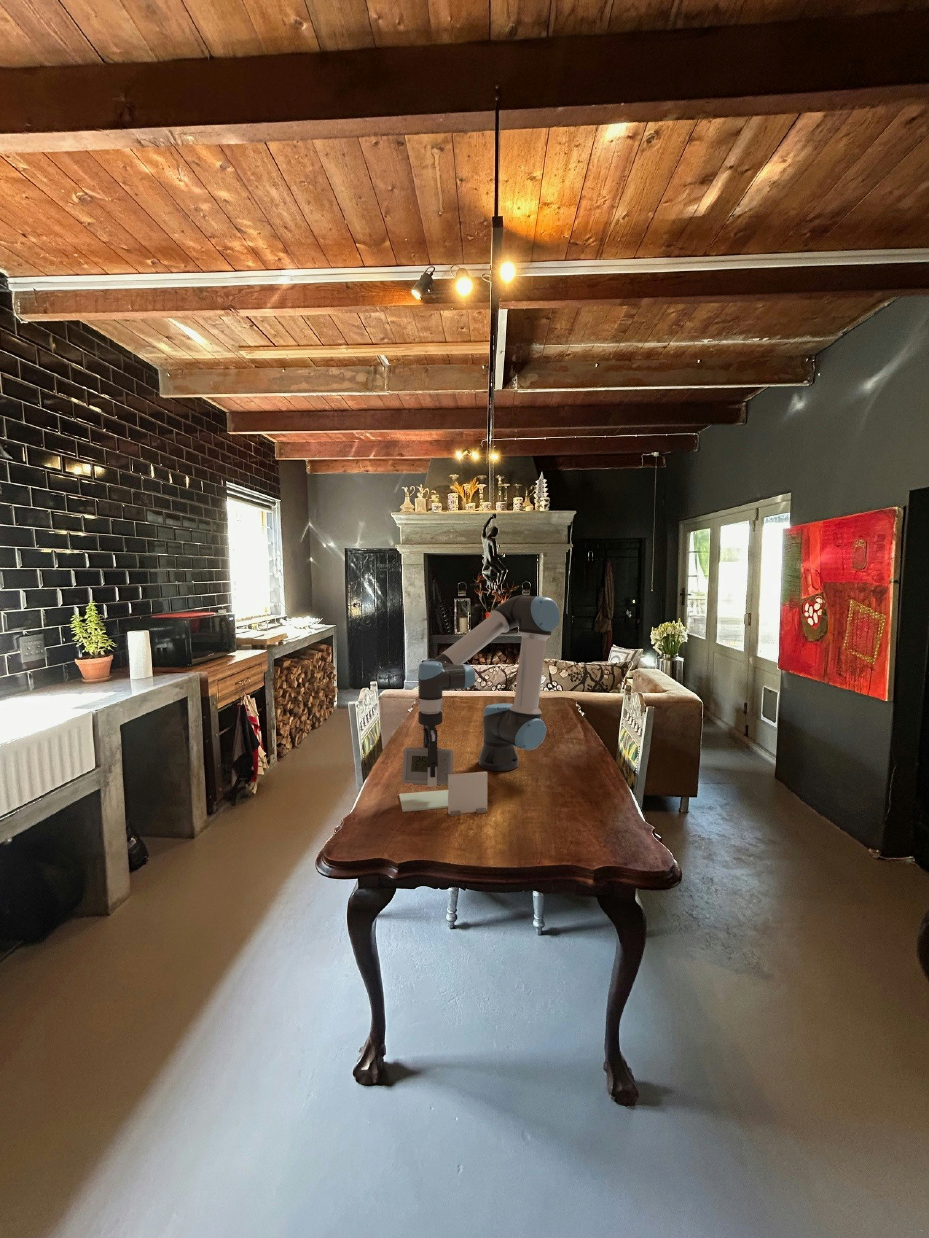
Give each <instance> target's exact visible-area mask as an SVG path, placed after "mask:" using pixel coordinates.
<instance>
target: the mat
mask: <svg viewBox="0 0 929 1238" xmlns="http://www.w3.org/2000/svg"><path fill="white" fill-rule="evenodd" d="M398 796H399V802H400V806H401V810H402V811H401V812H416V811H427V810H438V809H448V789H443V790H442V789H441V790H430V791H429V790H428V791H419V792H418V791H417V792H416V791H415V792H405V793H399V794H398Z"/></svg>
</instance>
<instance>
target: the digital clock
mask: <svg viewBox="0 0 929 1238" xmlns="http://www.w3.org/2000/svg"><path fill="white" fill-rule="evenodd" d="M437 752H438V767H437V787H441V786H448V774H454V773H453V771H454V750H453V749H450V748H448V749H447V748H446V749H445V748H438V747H437ZM426 765H428V748H423V747H405V748H404V750H403V762H402V772H401V773H402V776H401V781H402V783H404V784H412V785H413V786H415V785H417V786H428V767H426Z"/></svg>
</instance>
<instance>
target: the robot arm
mask: <svg viewBox="0 0 929 1238" xmlns="http://www.w3.org/2000/svg"><path fill="white" fill-rule="evenodd" d="M560 621H561V612H560V608H559V606H558V605H557V602H556V601H555V600H553V599H552V598H550V597H546V596H541V595H540V596H536V595H534V596H533V595H522V594H521V595H516V596H513V597H511V598H508V599H507V600H505V601H504V602H502V603H501V604H499V605H498V606H497V607H495V608H494V609H493V610H491V611H490V612H489V616H488V617H487V618H486V619H485V618H484V620H483V621H481V622H480V623H479V624H478V625H476V626H475V627H474V628H473V629H471V630H470V631H469V632H467V633H466V634H464V636H462V637H461V638H460V639H459V640H456V642H454V643H453V644H452V645H451V646H449V647H448V648H447V649H446V650H445V651H443V652H442V653H441V654H439V655H437V656H436V657H435V658H426V659H425V660H424V661H423V662H421V663H420V664H419V665H418V675H417V679H418V680H417V681H418V690H417V691H418V693H417V694H418V700H417V701H416V704H417V705H418V710H419V711H418V715H417V717H418V719H417V721H418V724H419V725H421V726H423V729H422V731H423V742H422V743H423V744H422V748H428V765H426V767H428V785H427V787H428V788H433V787H434V788H435V787H438V786H437V767H438V752H437V748H438V737H439V736H438V729H437V726H439V725H441V724H442V723H443V711H442V710H443V692H445V691H452V690H460V689H461V690H462V689H463V690H465V689H467V688H471V687H473V686H474V685H475V683H476V682H475V681H476V672H475V671H476V670H475V669H474V667H473V666H471V665H470V664H464V663H466V662H467V661H468V660H470V659H471V658H472V657H474V656H475V655H476V654H477V653H478V652H480V651H481V650H482V649H483V648H485V647H486V646H487V645H488V644H490V643H491V642H492V641H493V640H494V639H496V638H497V637H498V636H499V635H501V634H502V633H508V632H509V631H510V630H512V629H514V628H518V631H517V632H518V634H519V635H520V637H521V642H520V651H519V659H518V667H517V675H516V683H515V685H516V686H515V693H514V700H513V703H505V702H504V703H492V704H489V705H486V706H485V707H484V708H483V714H482V715H483V716H482V717H483V744H482V747H481V751H480V753H479V757H478V766H479V767H481V768H482V769H485V770H488V771H492V772H493V771H494V772H507V771H512V770H514V769H517V768H518V767H519V763H520V761H519V756H518V753H517V750H516V749H517V748H518V749H520V750H526V751H532V750H536V749H537V748H538V747H539V746H540V745H542V744H543V742H544V741H545V738H546V735H547V726H546V724H545V722H544V721H543V720H542V710H541V709H540V708H539V701H540V694H541V693H540V692H541V684H542V677H543V676H542V675H543V668H544V659H545V652H546V644H547V640H548V639H549V638H550V637H552V631H554V630H555V629H557V627H558V626H559V624H560Z"/></svg>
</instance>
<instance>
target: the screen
mask: <svg viewBox="0 0 929 1238" xmlns="http://www.w3.org/2000/svg"><path fill="white" fill-rule="evenodd" d="M447 790H448V808H447V813H448V815H450V816H451V817H454V816H455V817H456V816H461V815H462V814H467V813H476V814H478V815H479V814H487V812H488V771H477V772H465V773H464V772H463V773H453V774H448V785H447Z"/></svg>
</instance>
